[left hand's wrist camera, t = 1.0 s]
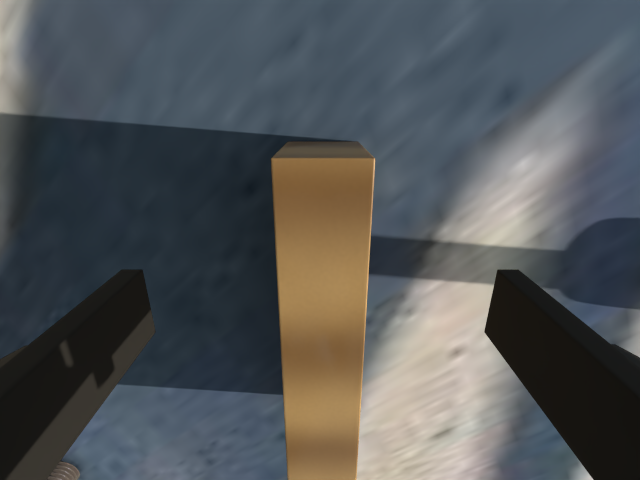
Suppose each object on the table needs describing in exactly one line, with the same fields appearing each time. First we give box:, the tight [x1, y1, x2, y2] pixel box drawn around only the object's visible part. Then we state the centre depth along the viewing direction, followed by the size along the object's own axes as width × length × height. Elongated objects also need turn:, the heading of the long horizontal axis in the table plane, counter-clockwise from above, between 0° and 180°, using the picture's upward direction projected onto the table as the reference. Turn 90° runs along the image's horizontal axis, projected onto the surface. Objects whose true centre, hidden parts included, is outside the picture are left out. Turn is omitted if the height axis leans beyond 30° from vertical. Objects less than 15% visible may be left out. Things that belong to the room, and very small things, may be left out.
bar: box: [271, 142, 375, 480], centre depth 25 cm, size 24×5×8 cm, turn 0°
